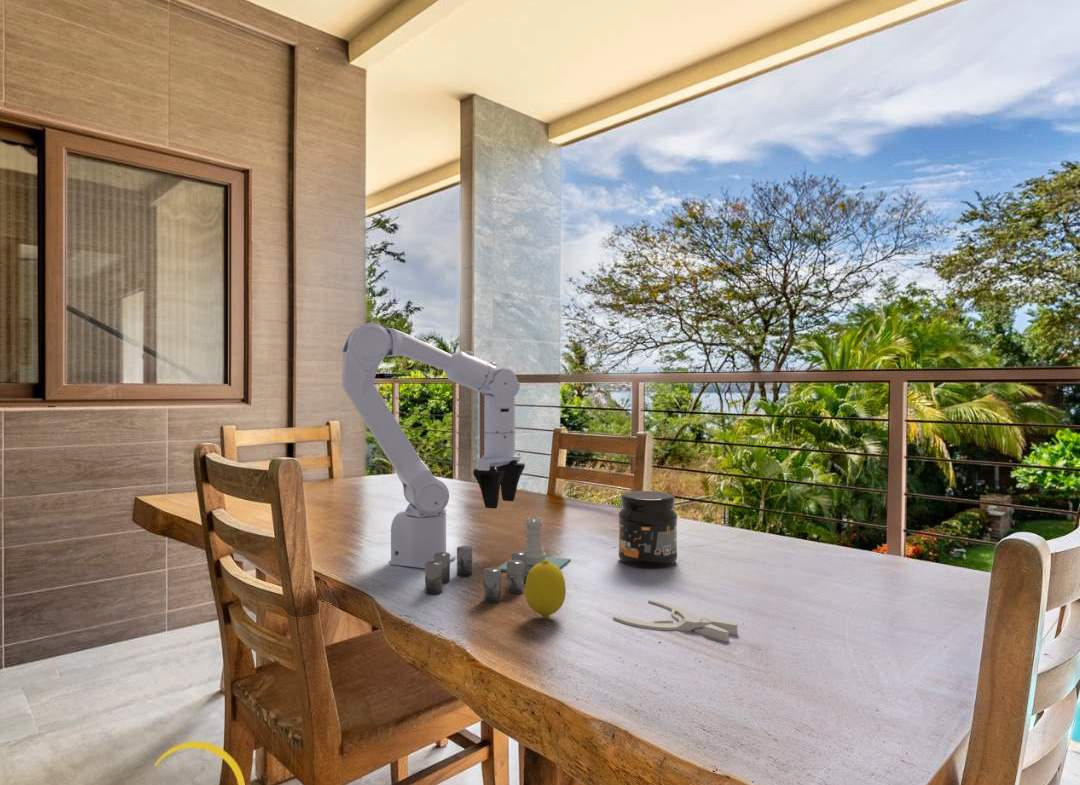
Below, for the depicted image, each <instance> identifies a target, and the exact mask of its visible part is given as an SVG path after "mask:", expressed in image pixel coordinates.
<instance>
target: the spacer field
mask: <svg viewBox="0 0 1080 785" xmlns="http://www.w3.org/2000/svg"><path fill="white" fill-rule="evenodd" d="M450 555H451V554H450V552H448V551H446V552H439V553H435V554H434V561H429V562H426V563H425V568H424V584H425V585H424V593H425V595H428V596H436V595H441V594H443V585H447V584H449V583H451V561H450ZM509 560H510V561H509ZM509 560H508V561H506V562H507V572H506V593H508V594H512V595H519V594H522V593H524V592H525V588H524V587H525V586H524V584H526V579H527V576H528V574H527V552H524V550H523V551H522V550H518V551H517V550H516V551H512V552H511V553H510V559H509ZM473 566H474V565H473V546H471V545H461V546H457V547H456V576H457V577H461V578H463V577H465V578H466V577H470V576H471V577H472V576H473V573H474V572H473ZM482 578H483V602H484V603H487V604H495V603H496V604H497V603H500V602H501V601H502V571H501V569H500V568H498V567H495V566H494V567H485V568H483V577H482Z"/></svg>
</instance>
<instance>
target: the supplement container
mask: <svg viewBox="0 0 1080 785" xmlns="http://www.w3.org/2000/svg"><path fill="white" fill-rule="evenodd" d="M675 504H676V502H675V496H674V495H673V494H671V493H667V492H663V491H655V490H654V491H653V490H652V491H651V490H635V491H627V492H624V493H622V494H621V496H620V505H621V507H622V508H621V509H620V510H619V512H618V514H617V517H618V518H617V519H618V557H619V560H620V561H621V562H623V564H626V565H628V566H631V567H635V568H642V569H659V568H660V569H661V568H666V567H669V566H672V565H673V564H674V563H676V561H677V560H678V551H677V548H678V546H677V545H678V542H677V541H678V539H677V538H678V535H677V534H678V532H677V531H678V530H677V529H678V525H677V524H678V523H677V522H678V514H677V512H676V511H675V510H674V508H675Z"/></svg>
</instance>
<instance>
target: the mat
mask: <svg viewBox="0 0 1080 785" xmlns="http://www.w3.org/2000/svg"><path fill="white" fill-rule="evenodd" d="M545 559H546V560H548V561H549V562H550V563H553V564H554V565H556V566H557V567H558V568H559V569H560V570H561V569H564V567H565V566H566V565H568V564H569V563H570V562H571V558H563V557H556V556H555V557H553V556H546V557H545ZM510 560H511V559H509V560H508V561H510ZM532 567H534V566H527V575H528V573H529V571H530V570H531V569H532ZM497 568H500V569H501V572H506V573H507V561H506V562H504V563H503V564H501V565H500V566H498V567H497Z"/></svg>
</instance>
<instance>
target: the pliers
mask: <svg viewBox="0 0 1080 785" xmlns="http://www.w3.org/2000/svg"><path fill="white" fill-rule="evenodd" d="M648 603H649V604H652V605H655V606H658V607H661V608H664V609H666V610H669V611H671V617H672V618H673V619H674V620H671V619H659V620H657V619H656V620H651V621H642V620H636V619H631V618H626V617H621V616H617V615H614V616H613V617H612V619H613V621H616V622H618V623H621V624H626V625H629V626H633V627H638V628H641V629H642V628H644V629H648V630H649V629H650V630H656V631H683V632H684V631H685V632H686V631H687V632H691V631H693V632H696V633H698V634H700V635H704V636H706V637H710V638H713V639H716V640H719V641H722V642H728V641H729V639H730V638H729V636H730V635H734V636H737V635H738V623H737V622H731V621H727V620H723V619H720V618H714V617H707V616H702V615H700V616H697V617H695V616H694V614H692V613H691V612H690V611H688V610H686V609H684V608H682V607H680V606H677V605H674V604H671V603H668V602H664V601H661V600H660V601H659V600H655V599H648ZM676 614H677V615H679V616H680V617H681V618H682V619H681V620H680V617H678V616H677V615H676ZM674 621H677V623H675V622H674Z"/></svg>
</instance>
